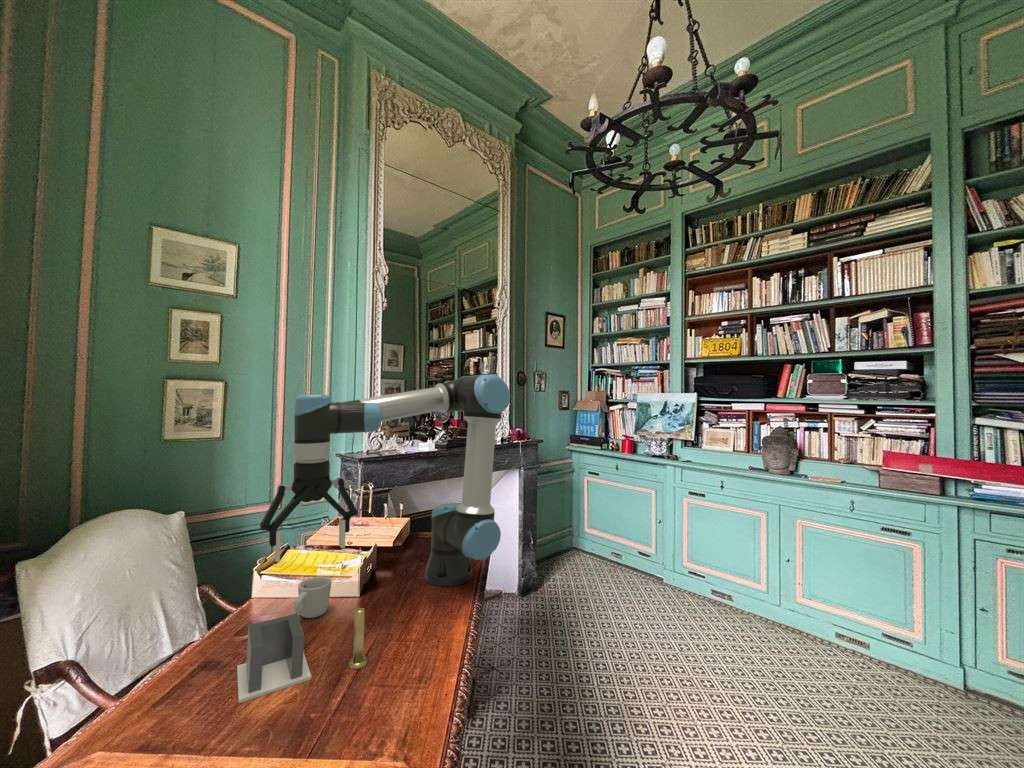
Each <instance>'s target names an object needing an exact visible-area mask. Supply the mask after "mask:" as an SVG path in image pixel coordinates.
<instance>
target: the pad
mask: <svg viewBox="0 0 1024 768" xmlns="http://www.w3.org/2000/svg"><path fill="white" fill-rule="evenodd" d="M236 670H237V671H236V673H237V676H236V677H237V695H238V696H237V698H238V704H241V703H245V702H247V701H251V700H253V699H256V698H259V697H263V696H265V695H268V694H271V693H274V692H277V691H280V690H283V689H284V690H285V689H287V688H290V687H293V686H296V685H298V684H301V683H305V682H308V681H310V680H312V674H311V671H310V668H309V664H308V662H307V659H306V656H305V651H303V670H302V676H301V677H297V678H294V679H291V678H290V674H289V669H288V665H287V661H286V659H284V660H280V661H277V662H274V663H270V664H267V665H264V666H262V681H261V690H257V691H254V692H251V693H248V680H247V667H246V662H245V663H242V664H237V666H236Z"/></svg>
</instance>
